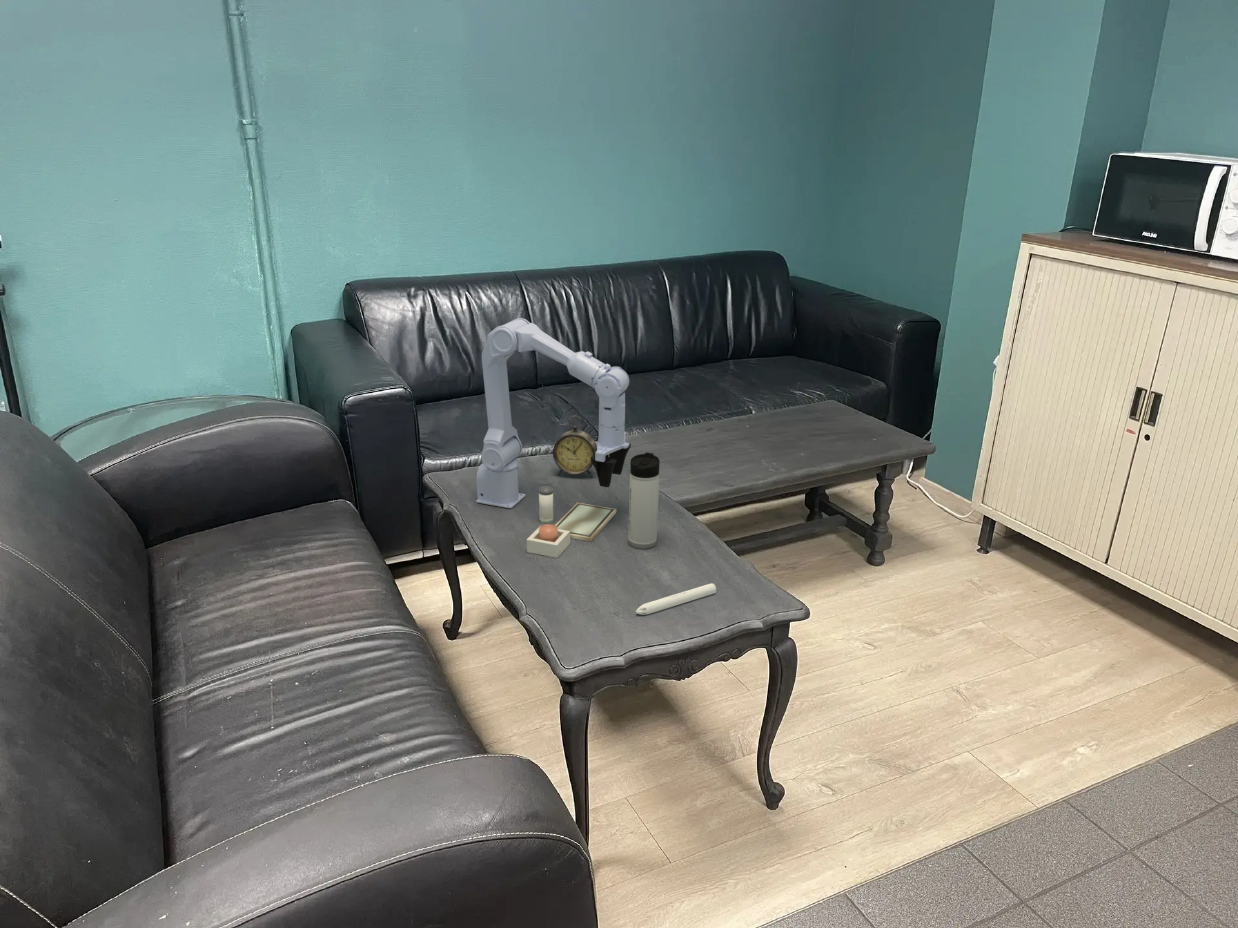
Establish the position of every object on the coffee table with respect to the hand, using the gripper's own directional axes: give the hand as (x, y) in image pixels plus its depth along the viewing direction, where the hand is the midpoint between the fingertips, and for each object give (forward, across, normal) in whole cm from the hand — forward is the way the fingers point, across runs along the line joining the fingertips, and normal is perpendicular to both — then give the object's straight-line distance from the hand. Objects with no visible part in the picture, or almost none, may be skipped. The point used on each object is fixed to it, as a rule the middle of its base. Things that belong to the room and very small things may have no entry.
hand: (610, 479), depth 194 cm
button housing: (+10, -18, +8) cm, 22 cm away
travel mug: (+10, -8, -11) cm, 17 cm away
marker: (+10, -29, -24) cm, 39 cm away
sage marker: (+10, -6, +13) cm, 18 cm away
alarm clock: (+10, +21, +17) cm, 29 cm away
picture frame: (+10, -4, +5) cm, 12 cm away
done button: (+8, -18, +8) cm, 21 cm away
